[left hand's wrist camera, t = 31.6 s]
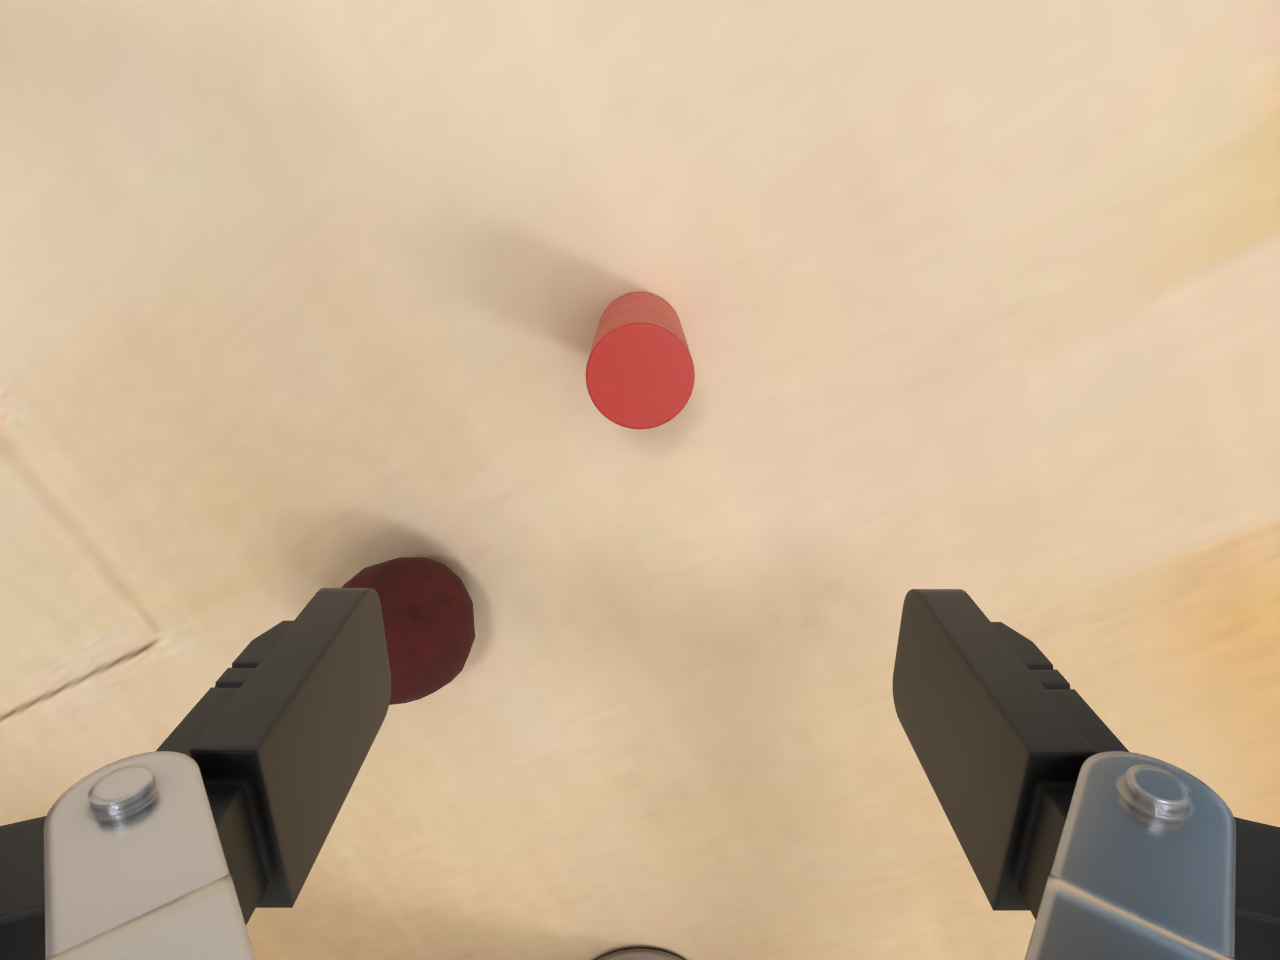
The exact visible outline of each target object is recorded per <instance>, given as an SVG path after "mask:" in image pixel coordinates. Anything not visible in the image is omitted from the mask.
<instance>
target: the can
mask: <svg viewBox="0 0 1280 960" xmlns="http://www.w3.org/2000/svg"><path fill="white" fill-rule="evenodd" d="M586 384H587V389H588V392H589V395H590V397H591V400H592V401H593V403H594V405H595V406H596V407H597V409H598V410H599V411H600V412H601V413H602V414H603V415H604V416H605V417H606V418H608V419H609V420H610V421H612V422H614V423H616V424H618V425H620V426H623V427H627V428H632V429H649V428H653V427H657V426H660V425H662V424H664V423H666V422H668V421H670V420H671V419H673V418H674V417H675V416H676V415H677V414H679V413H680V411H681V410H682V409H683V408H684V407H685V405H686V403H687V402H688V400H689V398H690V396H691V393H692V390H693V385H694V366H693V362H692V358H691V355H690V352H689V349H688V346H687V342H686V339H685V336H684V333H683V330H682V327H681V324H680V321H679V318H678V316H677V314H676V312H675V310H674V309H673V308H672V306H671V305H670V304H669V303H668V302H666V301H665V300H664V299H662V298H661V297H659V296H657V295H654V294H651V293H647V292H633V293H629V294H626V295H623V296H621V297H619V298H618V299H616V300H615V301H614V302H612V303H611V304H610V305H609V306H608V308H607V309H606V310H605V312H604V314H603V316H602V318H601V321H600V324H599V327H598V330H597V333H596V337H595V340H594V343H593V346H592V349H591V353H590V356H589V359H588V363H587V368H586Z"/></svg>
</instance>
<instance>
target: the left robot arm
mask: <svg viewBox="0 0 1280 960" xmlns="http://www.w3.org/2000/svg"><path fill="white" fill-rule="evenodd" d="M390 694H391V674H390V666H389V659H388V652H387V645H386V638H385V631H384V624H383V617H382V610H381V604H380V599H379V596H378V593H377V592H376V590H375V589H373V588H322V589H321V590H319V591H318V592H317V593H316V594H315V596H314V597H313V598H312V599H311V601H310V602H309V603H308V604H307V606H306V607H305V608H304V609H303V610H302V612H301V613H300V614H299V615H298V617H297V618H296V619H295V620H294V621H282V622H281V623H279V624H278V625H276V626H274V627H273V628H271V629H270V630H268V631H266V632H265V633H263V634H262V635H260V636H259V637H257V638H255V639H254V640H252V641H251V642H250V644H249V645H248V646H247V647H246V648H245V649H244V651H243V652H242V653H241V654H240V655H239V656H238V657H237V659H236V660H235V661H234V662H233V663H232V668H228V669H227V670H226V671H225V672H224V673H223V675H222V676H221V677H220V678H219V679H218V680H217V682H216V686H215V688H210V690H209V691H208V692H207V693H206V694H205V695H204V696H203V698H202V699H201V700H200V701H199V702H198V703H197V704H196V706H195V707H194V708H193V709H192V710H191V711H190V712H189V714H188V715H187V716H186V717H185V718H184V719H183V721H182V722H181V723H180V724H179V725H178V726H177V727H176V729H175V730H174V731H173V732H172V733H171V734H170V735H169V737H168V738H167V739H166V740H165V741H164V742H163V743H162V745H161V746H160V747H159V748H158V749H157V750H156V752H149V753H143V754H139V755H134V756H131V757H127V758H124V759H121V760H118V761H116V762H113V763H111V764H108V765H106V766H104V767H102V768H100V769H98V770H96V771H94V772H93V773H91V774H89V775H87V776H86V777H84V778H83V779H81V780H80V781H78V782H77V783H76V784H74V785H73V786H71V787H70V788H69V789H68V790H67V791H66V792H65V793H63V794H62V795H61V797H60V798H59V799H58V800H57V801H56V802H55V803H54V805H53V806H52V808H51V809H50V810H49V812H48V814H47V816H44V817H40V818H35V819H31V820H26V821H22V822H17V823H13V824H8V825H4V826H0V960H255V957H254V953H253V950H252V946H251V943H250V939H249V936H248V932H247V929H246V924H247V923H248V921H249V919H250V917H251V915H252V913H253V911H254V910H255V908H256V907H293V905H294V903H295V901H296V899H297V897H298V895H299V893H300V891H301V889H302V887H303V885H304V883H305V880H306V878H307V876H308V874H309V872H310V870H311V868H312V866H313V864H314V862H315V860H316V858H317V856H318V854H319V852H320V850H321V848H322V846H323V844H324V842H325V840H326V837H327V835H328V833H329V831H330V829H331V827H332V825H333V823H334V821H335V819H336V817H337V815H338V813H339V811H340V809H341V807H342V805H343V803H344V801H345V799H346V797H347V794H348V792H349V790H350V788H351V786H352V784H353V782H354V780H355V778H356V776H357V774H358V772H359V770H360V768H361V766H362V764H363V762H364V760H365V758H366V756H367V754H368V751H369V749H370V747H371V745H372V743H373V741H374V739H375V737H376V735H377V733H378V731H379V729H380V727H381V725H382V723H383V721H384V719H385V716H386V713H387V710H388V706H389V701H390ZM893 697H894V704H895V708H896V712H897V715H898V718H899V720H900V722H901V724H902V727H903V729H904V731H905V733H906V735H907V737H908V739H909V741H910V743H911V745H912V747H913V749H914V751H915V753H916V755H917V757H918V759H919V761H920V763H921V765H922V767H923V769H924V771H925V773H926V775H927V777H928V779H929V781H930V783H931V785H932V787H933V789H934V791H935V793H936V795H937V797H938V799H939V801H940V803H941V805H942V807H943V809H944V811H945V813H946V816H947V818H948V820H949V822H950V824H951V826H952V828H953V830H954V832H955V834H956V836H957V838H958V840H959V842H960V844H961V846H962V848H963V850H964V852H965V854H966V856H967V858H968V860H969V862H970V864H971V866H972V868H973V870H974V872H975V874H976V876H977V878H978V880H979V882H980V884H981V886H982V888H983V890H984V892H985V894H986V896H987V898H988V900H989V902H990V905H991V907H992V909H993V910H1031V912H1032V914H1033V916H1034V918H1035V920H1036V922H1035V925H1034V929H1033V932H1032V936H1031V939H1030V943H1029V946H1028V950H1027V953H1026V956H1025V960H1280V827H1275V826H1271V825H1266V824H1262V823H1257V822H1253V821H1248V820H1244V819H1240V818H1236V817H1233V814H1232V812H1231V810H1230V809H1229V808H1228V806H1227V805H1226V803H1225V802H1224V801H1223V800H1222V799H1221V798H1220V797H1219V795H1218V794H1217V793H1215V792H1214V791H1213V790H1212V789H1211V788H1210V787H1209V786H1207V785H1206V784H1204V783H1203V782H1202V781H1200V780H1199V779H1197V778H1196V777H1194V776H1193V775H1191V774H1189V773H1187V772H1186V771H1184V770H1182V769H1180V768H1178V767H1176V766H1174V765H1172V764H1169V763H1167V762H1164V761H1162V760H1159V759H1156V758H1153V757H1149V756H1146V755H1141V754H1137V753H1131V752H1129V751H1128V750H1127V749H1126V748H1125V747H1124V745H1123V744H1122V743H1121V742H1120V741H1119V740H1118V739H1117V737H1116V736H1115V735H1114V734H1113V733H1112V732H1111V731H1110V729H1109V728H1108V727H1107V726H1106V725H1105V724H1104V723H1103V721H1102V720H1101V719H1100V718H1099V717H1098V716H1097V715H1096V714H1095V712H1094V711H1093V710H1092V709H1091V708H1090V707H1089V706H1088V704H1087V703H1086V702H1085V701H1084V700H1083V699H1082V698H1081V696H1080V695H1079V694H1078V693H1077V692H1076V691H1075V690H1074V689H1070V684H1069V683H1068V682H1067V681H1066V679H1065V678H1064V677H1063V676H1062V675H1061V674H1060V673H1059V671H1058V670H1053V665H1052V663H1051V662H1050V661H1049V660H1048V659H1047V658H1046V657H1045V656H1044V654H1043V653H1042V652H1041V651H1040V650H1039V649H1038V648H1037V646H1036V645H1035V644H1034V643H1033V642H1032V641H1030V640H1029V639H1027V638H1025V637H1024V636H1022V635H1021V634H1019V633H1018V632H1016V631H1014V630H1013V629H1011V628H1010V627H1008V626H1006V625H1005V624H1003V623H1002V622H990V621H989V620H988V618H987V617H986V616H985V615H984V613H983V612H982V611H981V610H980V609H979V607H978V606H977V605H976V604H975V603H974V601H973V600H972V599H971V598H970V596H969V595H968V594H967V593H966V592H965V591H963V590H961V589H912V590H910V591H909V592H908V593H907V595H906V597H905V600H904V605H903V611H902V618H901V625H900V632H899V639H898V646H897V653H896V659H895V666H894V673H893ZM597 960H683V959H681V958H679V957H677V956H675V955H672V954H670V953H667V952H663V951H659V950H653V949H628V950H621V951H617V952H613V953H610V954H607V955H605V956H603V957H601V958H599V959H597Z"/></svg>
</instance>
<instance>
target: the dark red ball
mask: <svg viewBox="0 0 1280 960" xmlns="http://www.w3.org/2000/svg"><path fill="white" fill-rule="evenodd" d="M342 588H373V589H375V590H376V592H377V593H378V596H379V599H380V604H381V610H382V617H383V624H384V631H385V638H386V645H387V652H388V659H389V666H390V674H391V694H390V701H389V705H392V704H400V703H407V702H411V701H414V700H418V699H421V698H423V697H425V696H427V695H429V694H432V693H434V692H435V691H437V690H439V689H440V688H442V687H443V686H445V685H446V684H448V683H450V682H451V681H452V680H453V679H454V678H455V677H456V676H457V675H458V674H459V673H460V672H461V671H462V669H463V667H464V664H465V662H466V660H467V658H468V655H469V653H470V650H471V647H472V644H473V641H474V638H475V630H474V617H473V603H472V600H471V598H470V596H469V594H468V592H467V590H466V589H465V587H464V585H463V583H462V581H461V579H460V578H459V577H458V576H457V575H456V574H455V573H453V572H452V571H451V570H450V569H449V568H448V567H447V566H445V565H443V564H440V563H438V562H435V561H432V560H430V559H427V558H397V559H394V560H390V561H387V562H384V563H380V564H377V565H374V566H370V567H367V568H364V569H363V570H362V571H361V572H359V573H358V574H357V575H356V576H354V577H353V578H352V579H351V580H349V581H348V582H347V583H346V584H345V585H344V586H343V587H342Z"/></svg>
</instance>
